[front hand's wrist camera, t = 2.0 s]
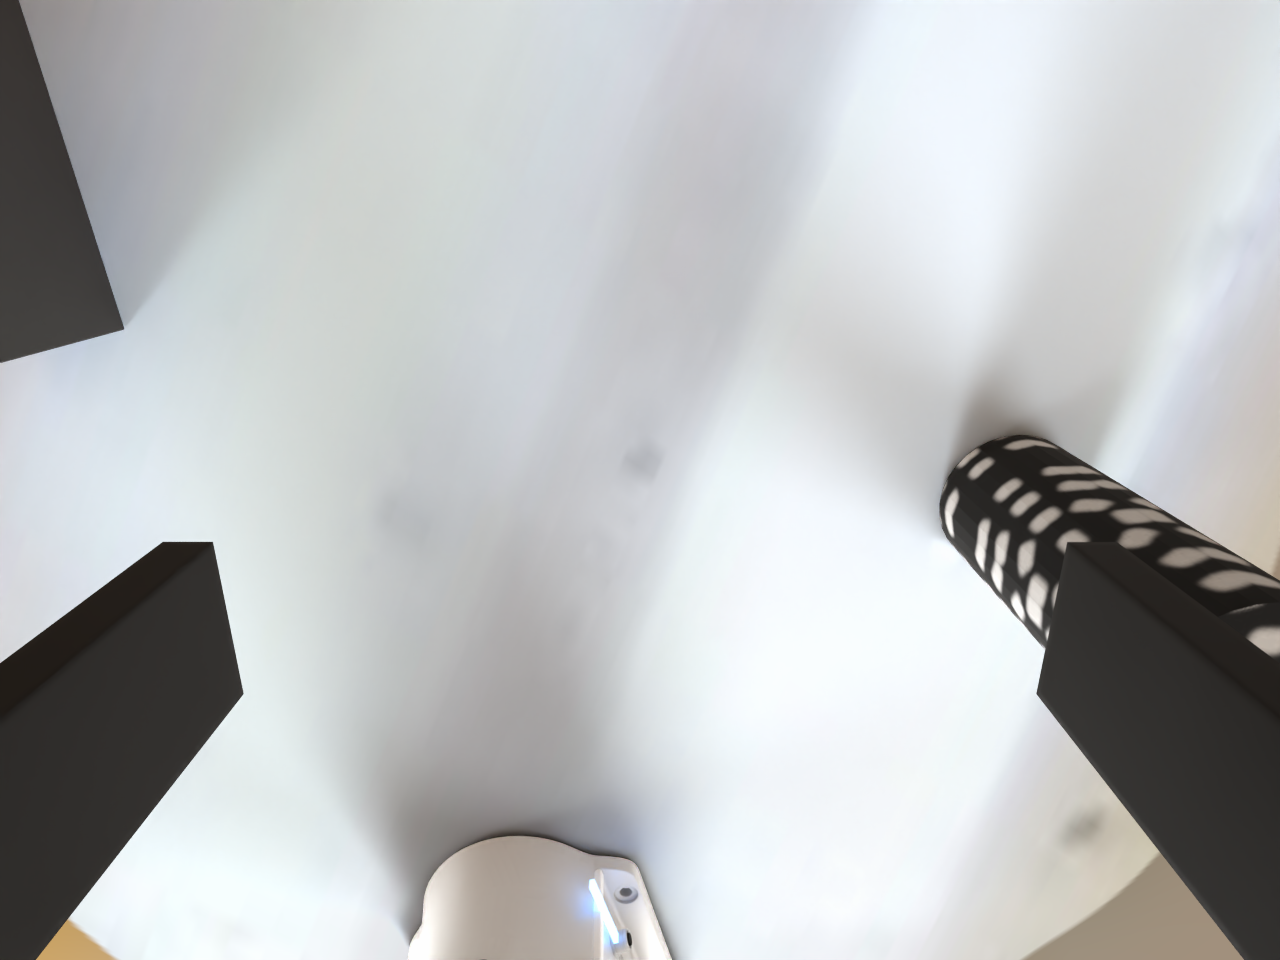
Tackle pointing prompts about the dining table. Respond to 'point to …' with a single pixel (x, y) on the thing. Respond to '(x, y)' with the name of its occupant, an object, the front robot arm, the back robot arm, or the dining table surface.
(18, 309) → the bar
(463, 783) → the dining table surface
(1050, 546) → the black white spotted cylinder
